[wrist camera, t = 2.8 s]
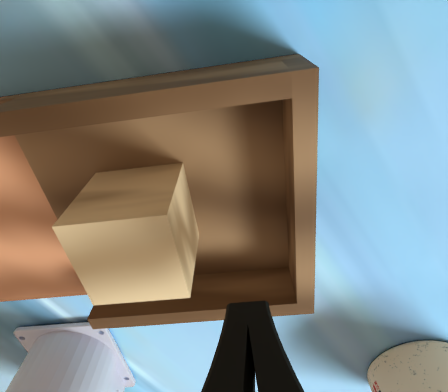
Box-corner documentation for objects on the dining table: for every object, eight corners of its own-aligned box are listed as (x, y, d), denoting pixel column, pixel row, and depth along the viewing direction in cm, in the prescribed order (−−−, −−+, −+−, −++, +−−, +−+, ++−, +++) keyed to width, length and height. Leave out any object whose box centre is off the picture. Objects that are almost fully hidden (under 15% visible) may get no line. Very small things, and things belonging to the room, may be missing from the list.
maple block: (199, 234, 20) (190, 297, 15) (122, 241, 20) (93, 305, 16) (183, 162, 17) (166, 215, 13) (95, 173, 17) (51, 226, 13)
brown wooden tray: (301, 266, 22) (314, 313, 19) (2, 291, 24) (-36, 338, 21) (298, 53, 15) (318, 67, 11) (-127, 115, 17) (-218, 142, 14)
